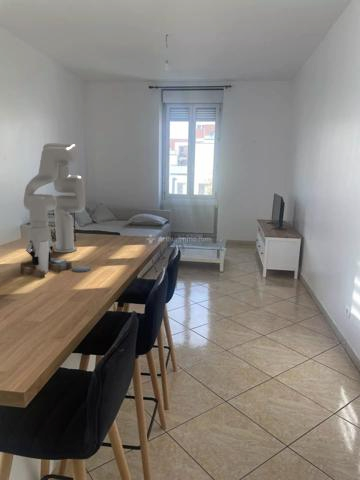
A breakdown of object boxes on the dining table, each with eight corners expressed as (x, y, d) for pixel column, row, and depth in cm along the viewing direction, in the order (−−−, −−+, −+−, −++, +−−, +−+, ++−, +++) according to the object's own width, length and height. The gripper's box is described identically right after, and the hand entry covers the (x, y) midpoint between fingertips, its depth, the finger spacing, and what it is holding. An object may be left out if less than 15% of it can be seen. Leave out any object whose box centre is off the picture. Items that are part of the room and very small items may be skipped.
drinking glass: (53, 271, 164) (51, 239, 161) (43, 275, 158) (41, 242, 155) (41, 269, 166) (39, 238, 163) (31, 273, 160) (28, 241, 157)
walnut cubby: (21, 273, 160) (20, 262, 159) (51, 263, 176) (51, 254, 175) (42, 278, 154) (41, 267, 153) (71, 267, 170) (71, 257, 169)
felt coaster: (67, 270, 166) (67, 269, 166) (80, 265, 174) (80, 264, 174) (82, 273, 162) (82, 272, 162) (94, 268, 170) (94, 267, 170)
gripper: (48, 220, 167) (50, 257, 171) (17, 226, 151) (20, 266, 155) (60, 222, 163) (61, 259, 167) (29, 228, 148) (32, 269, 152)
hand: (41, 262), depth 161 cm, fingers closed on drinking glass, 6 cm apart
